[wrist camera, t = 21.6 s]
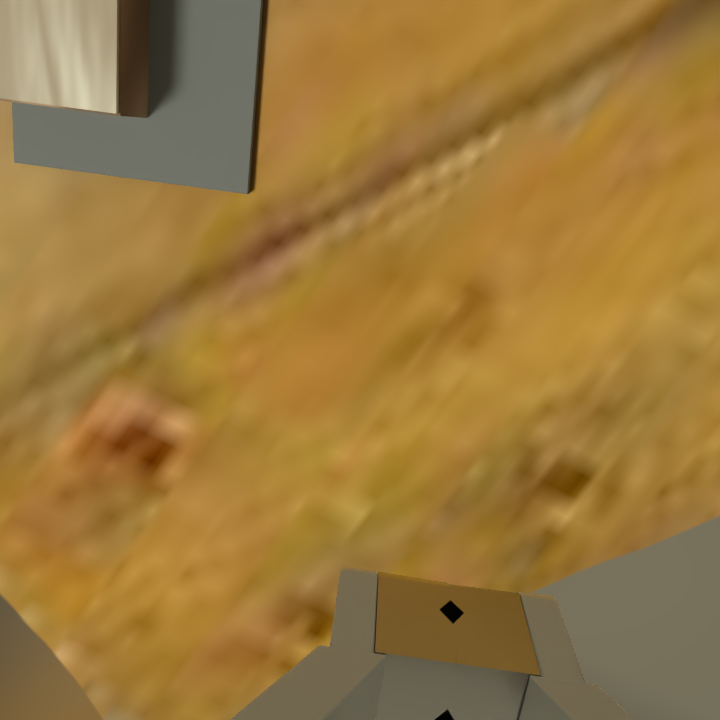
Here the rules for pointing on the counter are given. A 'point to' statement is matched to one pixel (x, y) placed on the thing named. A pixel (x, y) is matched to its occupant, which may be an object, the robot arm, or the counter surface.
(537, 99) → the counter surface
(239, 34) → the rubber mat
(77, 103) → the wooden block
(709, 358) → the counter surface
